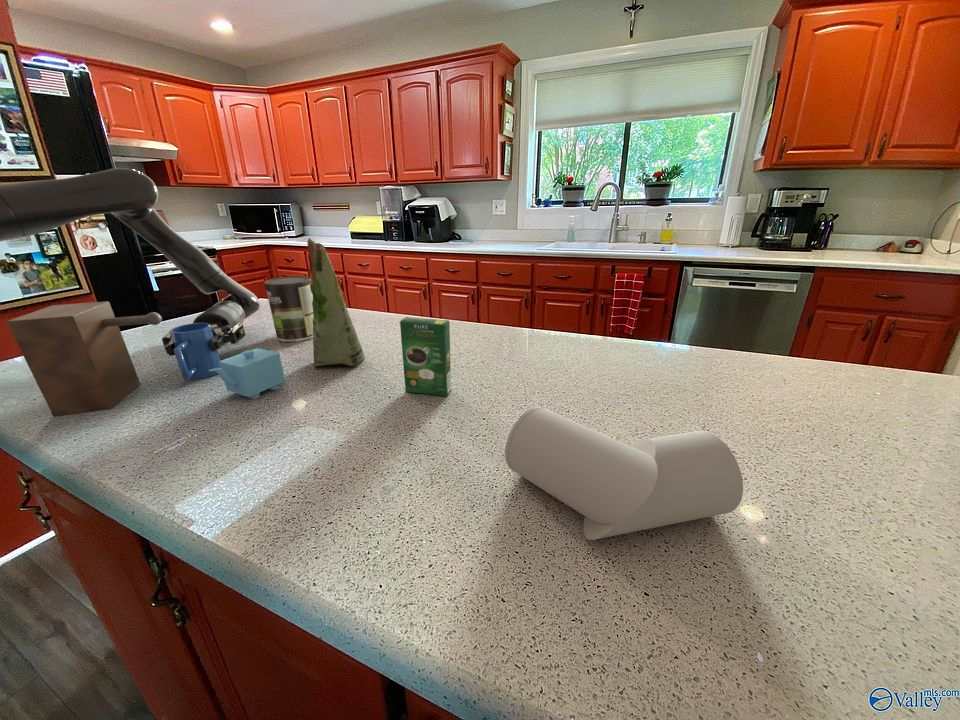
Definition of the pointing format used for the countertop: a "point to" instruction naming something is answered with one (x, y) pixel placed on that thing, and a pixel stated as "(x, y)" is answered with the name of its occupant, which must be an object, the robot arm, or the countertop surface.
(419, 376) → the coffee box
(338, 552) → the countertop surface
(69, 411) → the peg box
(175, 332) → the blue mug
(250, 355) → the teapot
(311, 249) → the pouch
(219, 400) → the countertop surface
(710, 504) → the bent grey cylinder
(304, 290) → the coffee can
